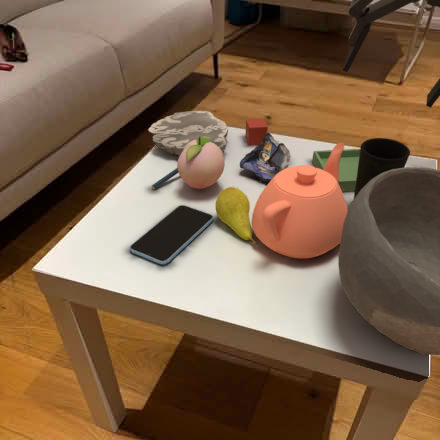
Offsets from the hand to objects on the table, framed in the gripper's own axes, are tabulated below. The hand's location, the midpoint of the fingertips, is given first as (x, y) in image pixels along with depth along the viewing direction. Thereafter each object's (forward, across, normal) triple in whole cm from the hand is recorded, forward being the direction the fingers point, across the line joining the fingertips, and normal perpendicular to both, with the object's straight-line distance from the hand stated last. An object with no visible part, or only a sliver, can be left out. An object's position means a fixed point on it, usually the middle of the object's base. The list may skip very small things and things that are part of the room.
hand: (387, 84), depth 70 cm
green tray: (+22, +4, +5) cm, 24 cm away
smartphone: (+24, -22, -24) cm, 40 cm away
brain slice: (+34, -28, +8) cm, 45 cm away
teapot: (+19, -3, -17) cm, 26 cm away
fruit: (+20, -17, -13) cm, 29 cm away
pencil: (+29, -30, -12) cm, 43 cm away
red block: (+31, -15, +13) cm, 37 cm away
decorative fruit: (+27, -21, -9) cm, 36 cm away
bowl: (+11, +11, -30) cm, 34 cm away
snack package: (+26, -11, +2) cm, 29 cm away
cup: (+19, +8, -7) cm, 21 cm away
